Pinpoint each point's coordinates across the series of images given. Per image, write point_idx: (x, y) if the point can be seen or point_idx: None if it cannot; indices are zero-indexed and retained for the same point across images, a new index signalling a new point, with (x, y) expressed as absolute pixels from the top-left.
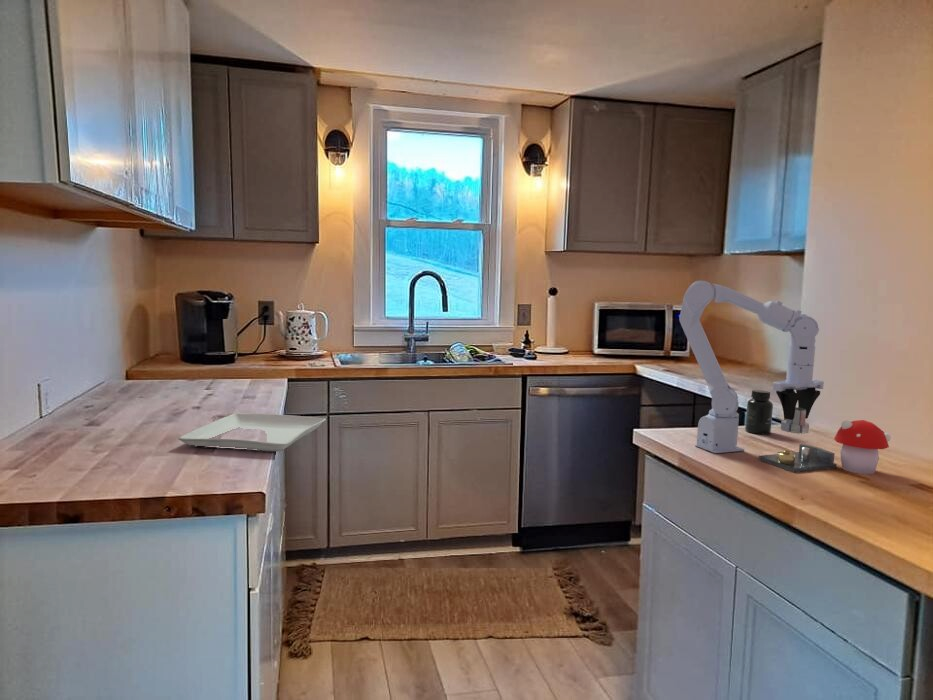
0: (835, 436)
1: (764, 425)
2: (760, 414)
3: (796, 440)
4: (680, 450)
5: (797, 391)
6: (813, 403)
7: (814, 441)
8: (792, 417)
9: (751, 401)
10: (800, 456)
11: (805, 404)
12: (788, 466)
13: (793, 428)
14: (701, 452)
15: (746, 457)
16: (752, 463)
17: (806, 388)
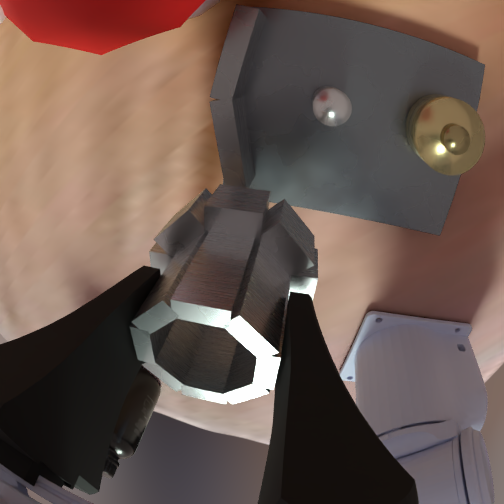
0: (184, 6)
1: None
2: (126, 414)
3: (86, 299)
4: (492, 366)
5: (96, 477)
6: (53, 324)
7: (48, 271)
8: (304, 302)
9: (128, 455)
10: (288, 146)
11: (107, 357)
12: (480, 92)
13: (306, 241)
14: (478, 342)
15: (437, 264)
16: (491, 212)
17: (42, 483)
